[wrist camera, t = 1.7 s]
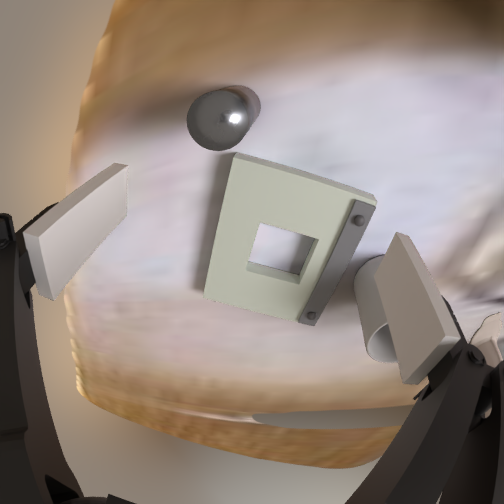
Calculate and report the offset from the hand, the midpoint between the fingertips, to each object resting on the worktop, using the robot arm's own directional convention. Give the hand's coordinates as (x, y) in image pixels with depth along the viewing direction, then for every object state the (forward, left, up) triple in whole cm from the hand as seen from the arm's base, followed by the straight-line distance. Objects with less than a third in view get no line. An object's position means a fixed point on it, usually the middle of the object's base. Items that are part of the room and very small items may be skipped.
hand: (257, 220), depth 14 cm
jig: (+13, +4, -20) cm, 24 cm away
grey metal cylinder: (-2, -5, -20) cm, 20 cm away
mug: (+15, +20, -20) cm, 32 cm away
